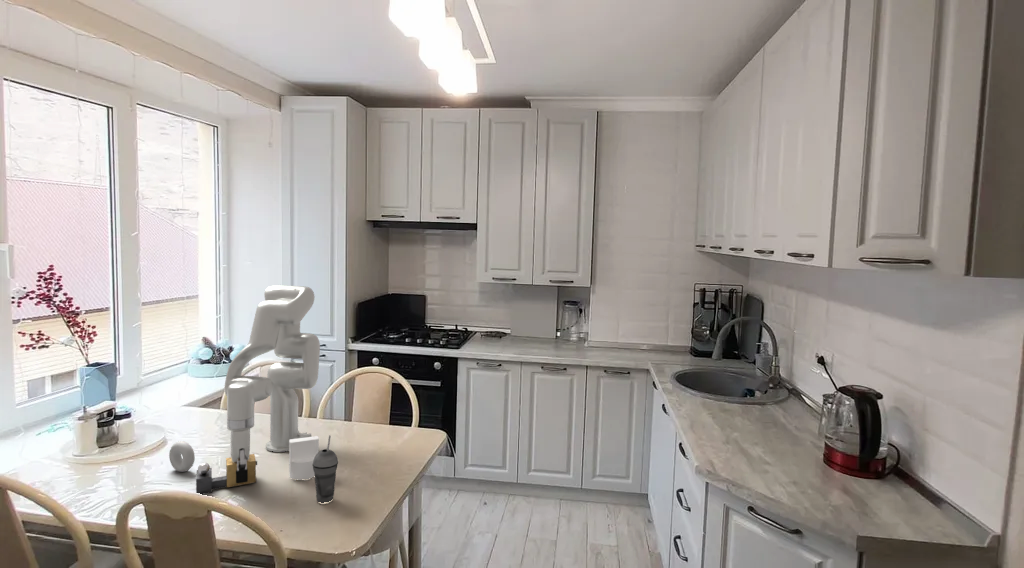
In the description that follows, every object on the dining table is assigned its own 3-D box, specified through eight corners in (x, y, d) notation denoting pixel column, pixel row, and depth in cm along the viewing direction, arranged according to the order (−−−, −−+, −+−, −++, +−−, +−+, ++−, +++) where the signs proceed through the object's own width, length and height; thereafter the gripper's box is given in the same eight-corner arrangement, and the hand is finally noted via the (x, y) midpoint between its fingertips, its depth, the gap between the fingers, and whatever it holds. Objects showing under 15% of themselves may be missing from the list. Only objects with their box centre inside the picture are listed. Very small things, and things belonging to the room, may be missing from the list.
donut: (197, 472, 174) (197, 442, 173) (187, 476, 170) (186, 446, 170) (177, 466, 178) (176, 437, 177) (166, 470, 174) (166, 440, 174)
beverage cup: (316, 495, 161) (316, 431, 160) (340, 494, 162) (341, 431, 160) (309, 507, 154) (309, 440, 152) (334, 506, 155) (335, 440, 153)
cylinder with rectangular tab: (290, 482, 169) (290, 446, 168) (288, 471, 177) (288, 436, 176) (320, 477, 173) (320, 442, 172) (316, 467, 181) (316, 432, 180)
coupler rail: (250, 476, 172) (250, 452, 171) (252, 485, 166) (251, 460, 165) (196, 485, 165) (196, 460, 164) (196, 495, 158) (195, 468, 158)
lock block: (256, 474, 172) (256, 453, 172) (257, 481, 167) (257, 460, 167) (226, 479, 168) (226, 458, 167) (227, 487, 163) (226, 465, 162)
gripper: (226, 415, 171) (226, 469, 173) (228, 433, 157) (228, 492, 158) (252, 412, 175) (252, 465, 177) (256, 429, 160) (256, 487, 162)
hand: (241, 477), depth 167 cm, fingers closed on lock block, 6 cm apart
